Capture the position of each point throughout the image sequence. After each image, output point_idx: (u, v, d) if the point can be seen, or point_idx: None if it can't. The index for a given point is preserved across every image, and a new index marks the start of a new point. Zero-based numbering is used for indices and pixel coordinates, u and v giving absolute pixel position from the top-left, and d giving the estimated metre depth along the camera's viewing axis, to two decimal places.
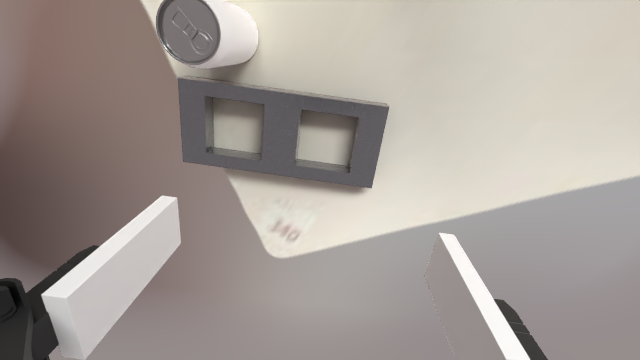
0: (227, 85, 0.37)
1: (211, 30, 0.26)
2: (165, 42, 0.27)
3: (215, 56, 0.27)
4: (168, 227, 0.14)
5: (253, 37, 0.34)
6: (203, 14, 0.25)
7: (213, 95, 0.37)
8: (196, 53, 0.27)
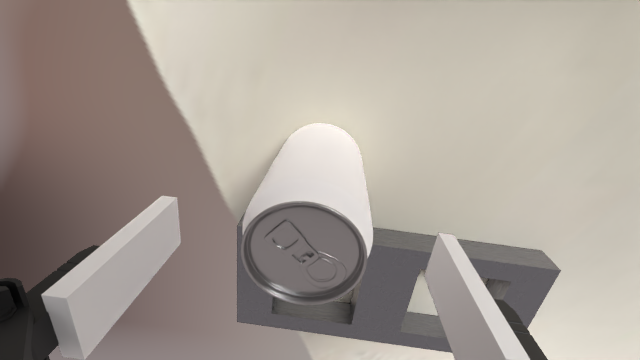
0: None
1: (345, 255, 0.13)
2: (253, 268, 0.14)
3: (344, 285, 0.15)
4: (168, 227, 0.14)
5: None
6: (335, 232, 0.13)
7: None
8: (312, 285, 0.14)
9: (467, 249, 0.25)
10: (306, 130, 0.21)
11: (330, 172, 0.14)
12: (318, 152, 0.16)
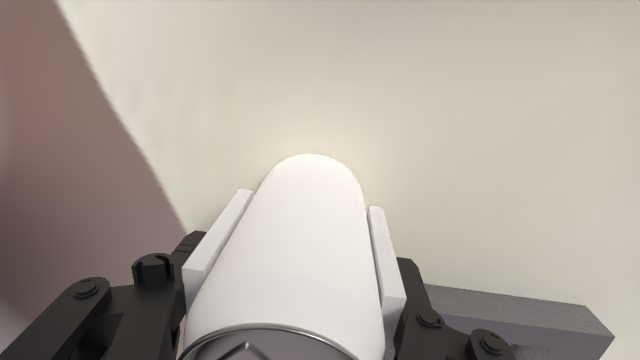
0: None
1: None
2: None
3: None
4: None
5: None
6: None
7: None
8: None
9: (495, 307, 0.20)
10: (291, 165, 0.16)
11: (319, 253, 0.09)
12: (304, 209, 0.11)
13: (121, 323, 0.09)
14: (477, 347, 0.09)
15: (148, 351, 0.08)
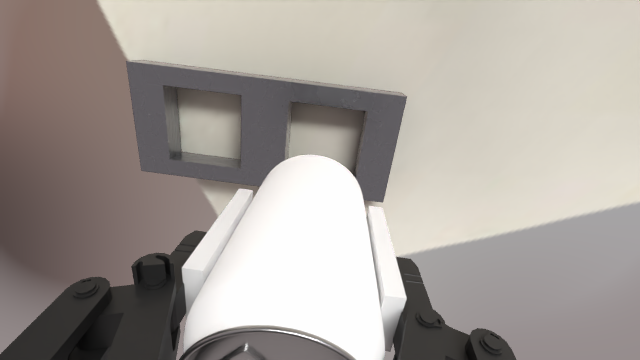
0: (191, 70, 0.28)
1: None
2: None
3: None
4: None
5: None
6: None
7: (174, 84, 0.28)
8: None
9: (331, 85, 0.28)
10: (291, 167, 0.16)
11: (319, 255, 0.09)
12: (303, 211, 0.11)
13: (121, 323, 0.09)
14: (477, 347, 0.09)
15: (149, 351, 0.08)
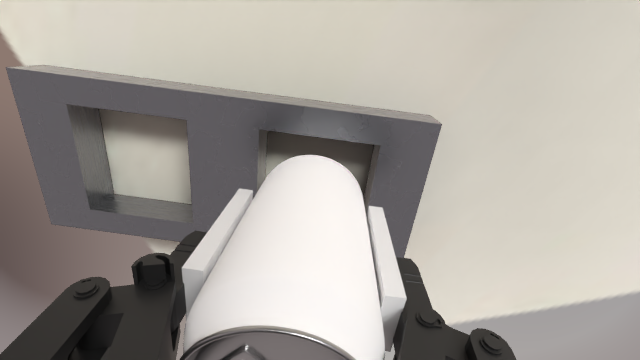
0: (107, 82, 0.18)
1: None
2: None
3: None
4: None
5: None
6: None
7: (83, 102, 0.18)
8: None
9: (324, 105, 0.19)
10: (291, 167, 0.16)
11: (319, 255, 0.09)
12: (303, 211, 0.11)
13: (121, 323, 0.09)
14: (477, 347, 0.09)
15: (148, 351, 0.08)
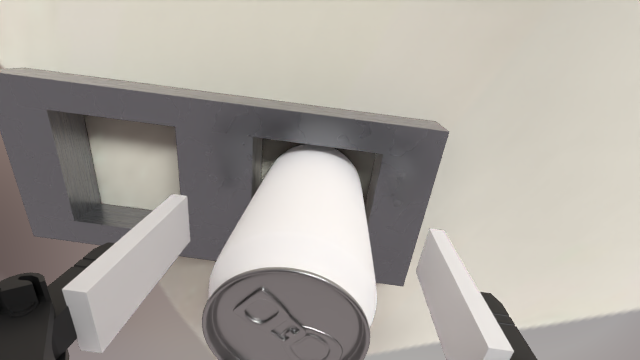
0: (90, 86, 0.17)
1: (341, 331, 0.10)
2: (222, 344, 0.11)
3: None
4: (179, 225, 0.14)
5: None
6: (327, 304, 0.10)
7: (64, 108, 0.17)
8: None
9: (323, 111, 0.17)
10: (295, 153, 0.18)
11: (321, 219, 0.11)
12: (308, 187, 0.13)
13: None
14: None
15: None
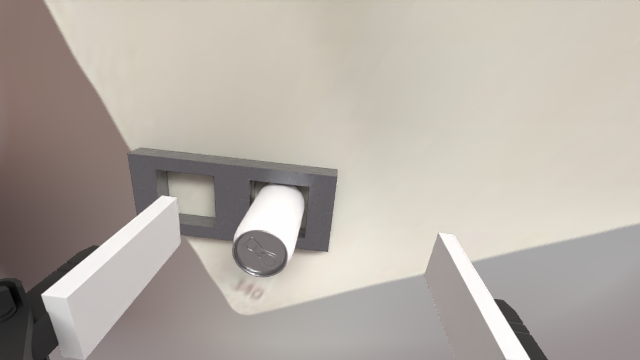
0: (176, 159, 0.37)
1: (278, 253, 0.30)
2: (238, 260, 0.31)
3: (281, 267, 0.31)
4: (168, 227, 0.14)
5: (302, 213, 0.38)
6: (273, 242, 0.30)
7: (163, 168, 0.38)
8: (265, 267, 0.31)
9: (281, 167, 0.38)
10: (269, 187, 0.38)
11: (273, 215, 0.31)
12: (271, 203, 0.33)
13: None
14: None
15: None
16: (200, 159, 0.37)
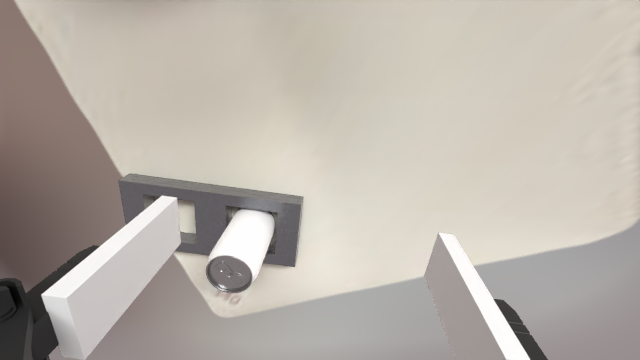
0: (161, 186, 0.42)
1: (245, 274, 0.36)
2: (211, 278, 0.36)
3: (247, 285, 0.37)
4: (168, 227, 0.14)
5: (271, 234, 0.44)
6: (240, 265, 0.35)
7: (150, 194, 0.43)
8: (234, 285, 0.37)
9: (254, 194, 0.43)
10: (243, 211, 0.43)
11: (241, 241, 0.37)
12: (241, 229, 0.39)
13: None
14: None
15: None
16: (182, 186, 0.43)
